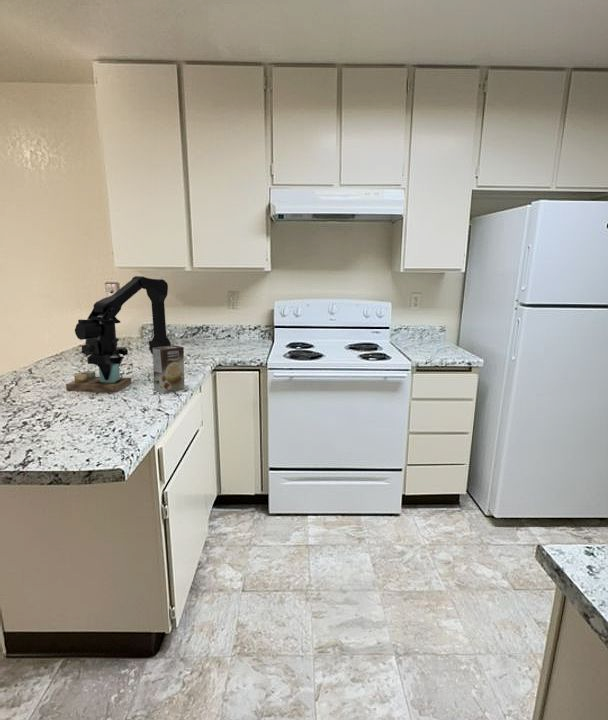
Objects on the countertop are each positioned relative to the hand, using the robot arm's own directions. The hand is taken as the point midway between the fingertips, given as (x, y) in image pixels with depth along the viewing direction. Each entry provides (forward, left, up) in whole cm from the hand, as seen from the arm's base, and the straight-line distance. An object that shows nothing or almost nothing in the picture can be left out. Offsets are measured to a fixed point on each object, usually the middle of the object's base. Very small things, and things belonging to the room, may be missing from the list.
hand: (110, 378), depth 150 cm
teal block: (0, 0, -1) cm, 1 cm away
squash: (+35, -62, -4) cm, 71 cm away
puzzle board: (+4, 0, -4) cm, 5 cm away
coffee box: (-22, 0, -4) cm, 22 cm away
